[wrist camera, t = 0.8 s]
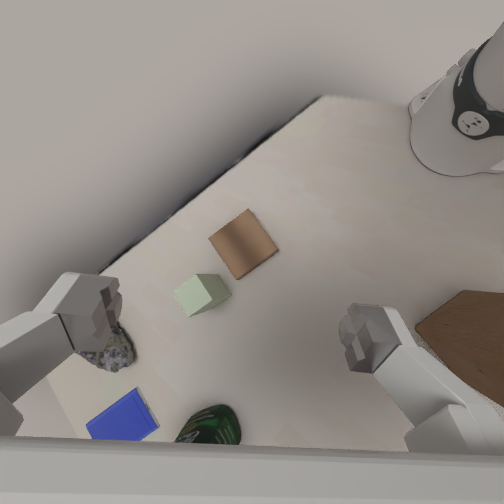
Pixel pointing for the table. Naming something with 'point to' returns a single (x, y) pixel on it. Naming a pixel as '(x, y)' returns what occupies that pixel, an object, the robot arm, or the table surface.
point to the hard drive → (124, 419)
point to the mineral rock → (111, 352)
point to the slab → (243, 244)
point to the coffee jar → (211, 428)
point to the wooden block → (471, 340)
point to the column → (201, 293)
